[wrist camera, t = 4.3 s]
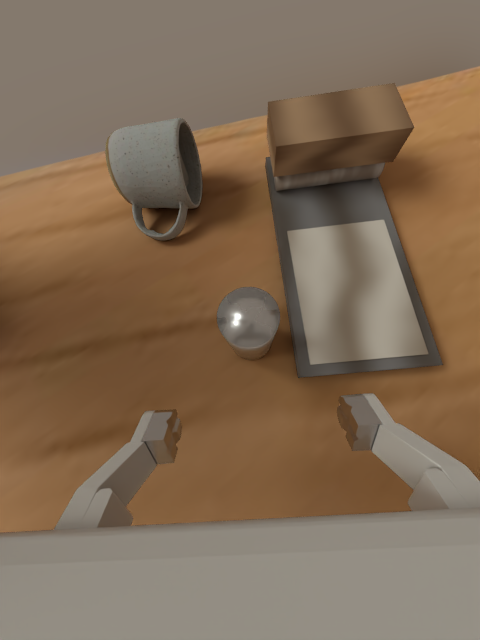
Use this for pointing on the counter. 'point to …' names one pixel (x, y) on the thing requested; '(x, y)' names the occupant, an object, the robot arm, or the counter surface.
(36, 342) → the counter surface
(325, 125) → the grey board with block
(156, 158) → the ceramic mug
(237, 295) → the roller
